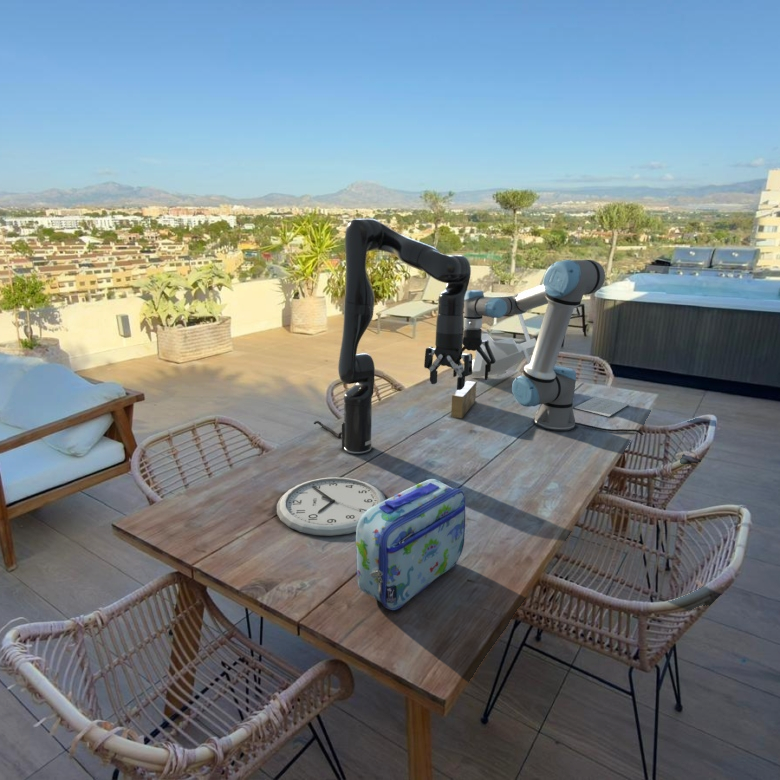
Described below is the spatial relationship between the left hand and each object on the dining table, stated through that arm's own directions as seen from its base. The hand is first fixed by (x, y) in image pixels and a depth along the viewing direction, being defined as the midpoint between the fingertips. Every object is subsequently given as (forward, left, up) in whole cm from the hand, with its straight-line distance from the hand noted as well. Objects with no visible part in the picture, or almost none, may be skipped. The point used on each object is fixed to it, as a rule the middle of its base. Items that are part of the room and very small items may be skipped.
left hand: (446, 386), depth 149 cm
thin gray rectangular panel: (+28, +100, -30) cm, 109 cm away
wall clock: (-19, -29, -30) cm, 46 cm away
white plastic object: (-19, +110, -30) cm, 116 cm away
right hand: (-21, +72, -18) cm, 77 cm away
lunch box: (+15, -46, -30) cm, 57 cm away
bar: (-21, +65, -30) cm, 74 cm away
